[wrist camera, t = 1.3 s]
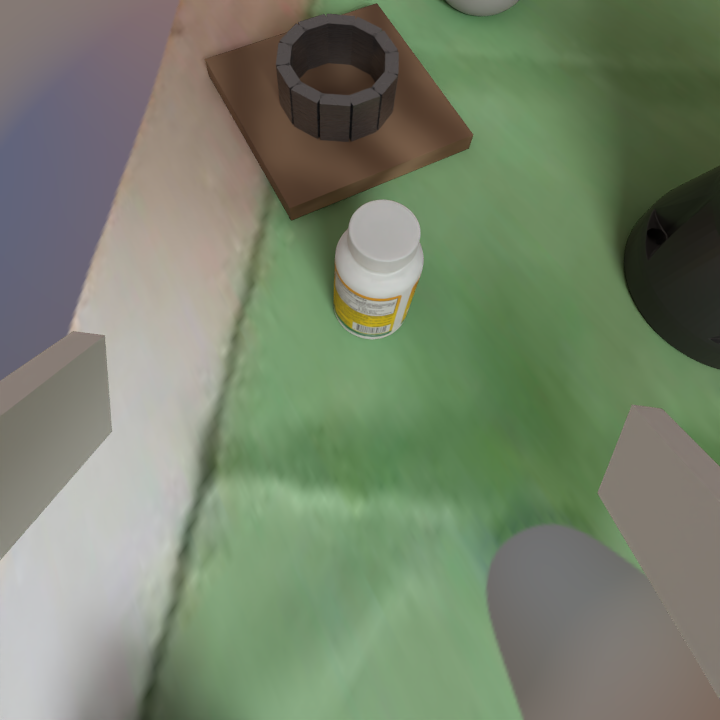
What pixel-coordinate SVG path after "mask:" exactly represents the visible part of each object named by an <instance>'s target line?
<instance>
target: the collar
mask: <svg viewBox="0 0 720 720" xmlns="http://www.w3.org/2000/svg"><path fill="white" fill-rule="evenodd" d="M327 63H333V64H346V65H352V66H354V67H356V68H358V69H360V70H362V71H364V72H366V73H367V74H369V75H371V77H372V78H373V80H374V81H375V84H374V85H373V86H372V87H370V88H368V89H365V90H362V91H359V92H357V93H354V94H351V95H338V94H324V93H321V92H319V91H317V90H315V89H314V88H312V87H310V86H308V85H306V84H304V83H302V82H301V81H300V78H301V77H302V76H303V75H304V74H305V72H306V71H307V70H310V69H313V68H315V67H318V66H321V65H324V64H327ZM276 71H277V80H278V90H279V99H280V105H281V107H282V108H283V110H284V112H285V113H286V115H287V117H288V118H289V120H290V122H291V123H292V125H293V124H294V127H296V128H298V129H300V130H302V131H303V132H305V133H307V134H309V135H311V136H313V137H314V138H316V139H318V138H319V137H320V140H327V141H341V142H349V139H350V140H351V142H352V141H354V140H357V139H360V138H362V137H365V136H367V135H370V134H373V133H375V132H376V130H377V131H378V130H379V129H380V128H381V126H382V125H383V124H384V123H385V121H386V120H387V119H388V118H389V116H390V115H391V114H392V112H393V108H394V101H395V94H396V87H397V80H398V71H399V52H398V49H397V48H396V46H395V45H394V44H393V42H392V41H391V39H390V38H389V37H388V35H387V34H386V33H385V31H382V29H381V28H379V27H377V26H375V25H373V24H371V23H369V22H367V21H365V20H363V19H361V18H359V17H357V18H356V19H355V16H349V15H336V14H327V17H326V16H325V15H324V14H323V15H320V16H316V17H313V18H310V19H307V20H304V21H301V22H298V24H295V25H294V26H293V27H292V28H291V29H290V30H289V31H288V32H287V34H286V35H285V36H284V37H283V38H282V39H281V40H280V43H278V51H277V59H276Z"/></svg>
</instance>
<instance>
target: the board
mask: <svg viewBox="0 0 720 720" xmlns="http://www.w3.org/2000/svg"><path fill="white" fill-rule="evenodd" d="M343 15H349V16H355V19H356V18H357V17H359V18H361V19H363V20H365V21H367V22H369V23H371V24H373V25H375V26H377V27H379V28H381V29H382V31H385V33H386V34H387V35H388V37H389V38H390V39H391V41H392V42H393V44H394V45H395V46H396V48H397V49H398V52H399V71H398V80H397V87H396V94H395V101H394V108H393V112H392V114H391V115H390V116H389V118H388V119H387V120H386V121H385V123H384V124H383V125H382V126H381V128H380V129H379V130H378V131H377V130H376V132H375V133H373V134H370V135H367V136H365V137H362V138H360V139H357V140H354V141H352V142H351V140H350V139H349V142H341V141H327V140H320V137H319V138H318V139H316V138H314V137H313V136H311V135H309V134H307V133H305V132H303V131H302V130H300V129H298V128H296V127H294V124H293V125H292V123H291V122H290V120H289V118H288V117H287V115H286V113H285V112H284V110H283V108H282V107H281V105H280V99H279V90H278V80H277V71H276V59H277V51H278V43H280V40H281V39H282V38H283V37H284V36H285V35H286V34H287V33H284V34H281V35H278V36H275V37H272V38H268V39H265V40H262V41H259V42H256V43H253V44H250V45H247V46H244V47H241V48H238V49H235V50H231V51H228V52H225V53H222V54H219V55H216V56H213V57H210V58H207V59H205V61H206V65H207V69H208V73H209V76H210V78H211V79H212V81H213V83H214V85H215V87H216V88H217V90H218V92H219V94H220V95H221V97H222V99H223V101H224V102H225V104H226V106H227V108H228V110H229V111H230V113H231V115H232V117H233V118H234V120H235V122H236V124H237V126H238V127H239V129H240V131H241V133H242V134H243V136H244V138H245V140H246V141H247V143H248V145H249V147H250V149H251V150H252V152H253V154H254V156H255V157H256V159H257V161H258V163H259V164H260V166H261V168H262V170H263V172H264V173H265V175H266V177H267V179H268V180H269V182H270V184H271V186H272V187H273V189H274V191H275V193H276V195H277V196H278V198H279V200H280V202H281V203H282V205H283V207H284V209H285V210H286V212H287V214H288V216H289V218H290V219H291V220H294V219H296V218H299V217H301V216H304V215H306V214H308V213H311V212H313V211H316V210H318V209H321V208H323V207H326V206H328V205H331V204H333V203H336V202H338V201H340V200H343V199H345V198H348V197H350V196H353V195H355V194H358V193H360V192H363V191H365V190H368V189H370V188H372V187H375V186H377V185H380V184H382V183H385V182H387V181H390V180H392V179H395V178H397V177H400V176H402V175H404V174H407V173H409V172H412V171H414V170H417V169H419V168H422V167H424V166H427V165H429V164H432V163H434V162H436V161H439V160H441V159H444V158H446V157H449V156H451V155H454V154H456V153H459V152H461V151H464V150H466V149H469V146H470V143H471V140H472V137H473V134H472V132H471V131H470V130H469V128H468V127H467V125H466V124H465V123H464V121H463V120H462V119H461V117H460V116H459V115H458V113H457V112H456V110H455V109H454V108H453V106H452V105H451V104H450V102H449V101H448V100H447V98H446V97H445V95H444V94H443V93H442V91H441V90H440V89H439V87H438V86H437V85H436V83H435V82H434V80H433V79H432V78H431V76H430V75H429V74H428V72H427V71H426V70H425V68H424V67H423V65H422V64H421V63H420V61H419V60H418V59H417V57H416V56H415V55H414V53H413V52H412V50H411V49H410V48H409V46H408V45H407V44H406V42H405V41H404V40H403V38H402V37H401V35H400V34H399V33H398V31H397V30H396V29H395V27H394V26H393V25H392V23H391V22H390V20H389V19H388V18H387V16H386V15H385V14H384V12H383V11H382V10H381V8H380V7H379V5H378V4H373V5H370V6H367V7H364V8H361V9H358V10H355V11H352V12H349V13H346V14H343ZM300 81H301V82H302V83H304V84H306V85H308V86H310V87H312V88H314V89H315V90H317V91H319V92H321V93H324V94H338V95H351V94H354V93H357V92H359V91H362V90H365V89H368V88H370V87H372V86H373V85H374V84H375V81H374V80H373V78H372V77H371V75H369V74H367V73H366V72H364V71H362V70H360V69H358V68H356V67H354V66H352V65H346V64H333V63H327V64H324V65H321V66H318V67H315V68H313V69H310V70H307V71H306V72H305V74H304V75H303V76H302V77H301V78H300Z"/></svg>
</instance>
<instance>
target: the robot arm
mask: <svg viewBox="0 0 720 720" xmlns="http://www.w3.org/2000/svg"><path fill="white" fill-rule="evenodd" d="M624 266H625V274H626V280H627V283H628V287H629V290H630V292H631V295H632V297H633V299H634V301H635V303H636V305H637V307H638V309H639V310H640V312H641V314H642V315H643V316H644V318H645V319H646V321H647V322H648V323H649V324H650V325H651V327H652V328H653V329H654V330H655V331H656V332H657V333H658V334H659V335H660V336H661V337H662V338H663V339H664V340H666V341H667V342H668V343H669V344H670V345H672V346H673V347H674V348H676V349H677V350H679V351H680V352H682V353H683V354H685V355H687V356H688V357H690V358H692V359H694V360H696V361H698V362H700V363H702V364H705V365H707V366H710V367H713V368H716V369H720V166H718V167H716V168H714V169H712V170H710V171H708V172H706V173H704V174H702V175H700V176H698V177H696V178H694V179H692V180H690V181H688V182H686V183H684V184H682V185H680V186H678V187H676V188H675V189H673V190H671V191H669V192H668V193H666V194H665V195H664V196H662V197H661V198H660V199H659V200H658V201H657V202H655V203H654V204H653V206H652V207H651V208H650V209H649V210H648V211H647V212H646V213H645V214H644V215H643V216H642V217H641V218H640V220H639V221H638V222H637V223H636V225H635V226H634V228H633V229H632V231H631V233H630V235H629V238H628V241H627V244H626V249H625V257H624ZM111 432H112V426H111V412H110V399H109V386H108V372H107V359H106V345H105V335H98V334H90V333H83V332H75V331H73V332H71V333H70V334H68V335H67V336H65V337H64V338H63V339H61V340H60V341H58V342H57V343H55V344H54V345H52V346H51V347H49V348H48V349H46V350H45V351H43V352H42V353H40V354H39V355H38V356H36V357H35V358H33V359H32V360H30V361H29V362H27V363H26V364H25V365H23V366H21V367H20V368H19V369H17V370H16V371H14V372H13V373H11V374H10V375H8V376H7V377H5V378H4V379H2V380H1V381H0V560H1V559H2V558H3V556H4V555H5V554H6V553H7V552H8V551H9V550H10V548H11V547H12V546H13V545H14V544H15V543H16V541H17V540H18V539H19V538H20V537H21V536H22V535H23V533H24V532H25V531H26V530H27V529H28V528H29V526H30V525H31V524H32V523H33V522H34V521H35V520H36V518H37V517H38V516H39V515H40V514H41V513H42V511H43V510H44V509H45V508H46V507H47V506H48V505H49V503H50V502H51V501H52V500H53V499H54V498H55V496H56V495H57V494H58V493H59V492H60V491H61V490H62V488H63V487H64V486H65V485H66V484H67V483H68V481H69V480H70V479H71V478H72V477H73V476H74V475H75V473H76V472H77V471H78V470H79V469H80V468H81V466H82V465H83V464H84V463H85V462H86V461H87V460H88V458H89V457H90V456H91V455H92V454H93V453H94V451H95V450H96V449H97V448H98V447H99V446H100V445H101V443H102V442H103V441H104V440H105V439H106V438H107V436H108V435H109V434H110V433H111ZM598 495H599V497H600V498H601V500H602V502H603V503H604V505H605V507H606V508H607V510H608V512H609V513H610V515H611V517H612V519H613V520H614V522H615V524H616V525H617V527H618V529H619V530H620V532H621V534H622V535H623V537H624V539H625V540H626V542H627V544H628V546H629V547H630V549H631V551H632V552H633V554H634V556H635V557H636V559H637V561H638V562H639V564H640V566H641V568H642V569H643V571H644V573H645V574H646V576H647V578H648V579H649V581H650V583H651V584H652V586H653V588H654V589H655V591H656V593H657V595H658V596H659V598H660V599H661V601H662V603H663V605H664V606H665V608H666V610H667V611H668V613H669V615H670V616H671V618H672V620H673V621H674V623H675V625H676V627H677V628H678V630H679V632H680V633H681V635H682V637H683V638H684V640H685V642H686V643H687V645H688V647H689V648H690V650H691V652H692V654H693V655H694V657H695V659H696V660H697V662H698V664H699V665H700V667H701V669H702V671H703V672H704V674H705V676H706V677H707V679H708V681H709V682H710V684H711V686H712V687H713V689H714V691H715V692H716V694H717V696H718V698H719V699H720V467H719V465H718V464H717V463H716V462H715V461H714V460H713V459H712V458H711V457H710V456H709V455H708V454H707V453H706V452H705V451H704V450H703V449H702V448H701V447H700V446H699V445H698V444H697V443H696V442H695V441H694V440H693V439H692V438H691V437H690V436H689V435H688V434H687V433H686V432H685V431H684V430H683V429H682V428H681V427H680V426H679V425H678V424H677V423H676V422H675V421H674V420H673V419H672V418H671V417H670V416H669V415H668V414H667V413H666V412H665V411H664V410H663V409H661V408H653V407H645V406H638V405H632V406H631V409H630V411H629V414H628V416H627V419H626V421H625V424H624V427H623V429H622V432H621V434H620V437H619V439H618V442H617V444H616V447H615V450H614V452H613V455H612V457H611V460H610V462H609V465H608V467H607V470H606V473H605V475H604V478H603V480H602V483H601V485H600V488H599V490H598Z"/></svg>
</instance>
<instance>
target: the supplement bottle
mask: <svg viewBox="0 0 720 720" xmlns="http://www.w3.org/2000/svg"><path fill="white" fill-rule="evenodd" d="M419 240H420V226H419V223H418V220H417V219H416V217H415V215H414V214H413V213H412V212H411V211H410V210H409V209H408V208H407V207H405V206H404V205H402V204H400V203H397V202H395V201H391V200H374V201H371V202H368V203H366V204H364V205H362V206H361V207H359V208H358V209H357V210H356V211H355V212H354V214H353V215H352V217H351V219H350V222H349V227H348V229H347V230H346V231H345V232H344V233H343V235H342V236H341V238H340V240H339V242H338V244H337V247H336V252H335V274H334V275H335V276H334V311H335V315H336V317H337V319H338V321H339V322H340V324H341V325H342V326H343V327H344V328H345V329H346V330H347V331H348V332H350V333H351V334H353V335H355V336H358V337H361V338H365V339H379V338H383V337H386V336H388V335H390V334H392V333H394V332H395V331H396V330H397V329H398V328H399V327H400V326H401V325H402V323H403V322H404V320H405V318H406V315H407V313H408V310H409V307H410V304H411V301H412V298H413V295H414V292H415V289H416V287H417V284H418V281H419V278H420V276H421V272H422V268H423V259H424V258H423V251H422V247H421V244H420V242H419Z"/></svg>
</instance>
